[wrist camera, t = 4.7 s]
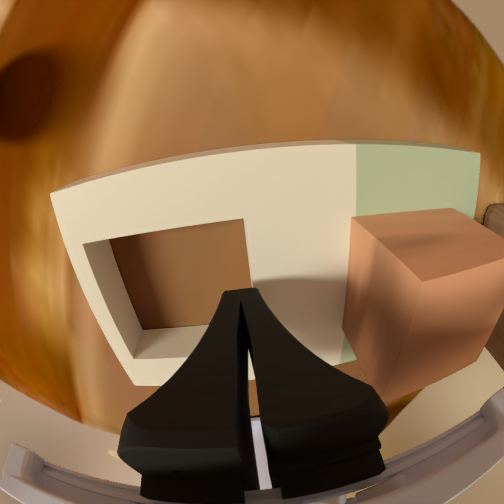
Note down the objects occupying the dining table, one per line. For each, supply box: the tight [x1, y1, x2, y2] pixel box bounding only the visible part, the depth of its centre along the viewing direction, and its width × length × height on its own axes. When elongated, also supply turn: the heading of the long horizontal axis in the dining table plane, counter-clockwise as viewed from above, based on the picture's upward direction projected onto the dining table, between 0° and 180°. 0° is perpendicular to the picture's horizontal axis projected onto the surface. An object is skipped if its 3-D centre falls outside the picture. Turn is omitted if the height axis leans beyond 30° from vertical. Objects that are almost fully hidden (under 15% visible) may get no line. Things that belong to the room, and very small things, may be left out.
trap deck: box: [50, 140, 480, 386], centre depth 13 cm, size 12×20×2 cm, turn 96°
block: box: [342, 208, 504, 403], centre depth 10 cm, size 6×6×5 cm
